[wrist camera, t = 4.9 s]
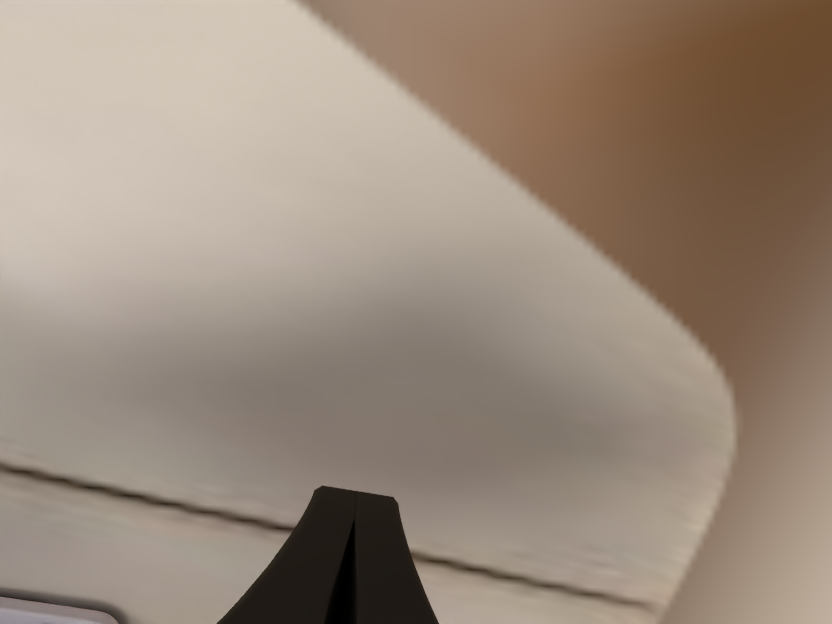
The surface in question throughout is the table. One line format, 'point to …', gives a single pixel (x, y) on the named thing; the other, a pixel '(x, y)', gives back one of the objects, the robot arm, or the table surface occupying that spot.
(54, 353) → the table surface
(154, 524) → the table surface
